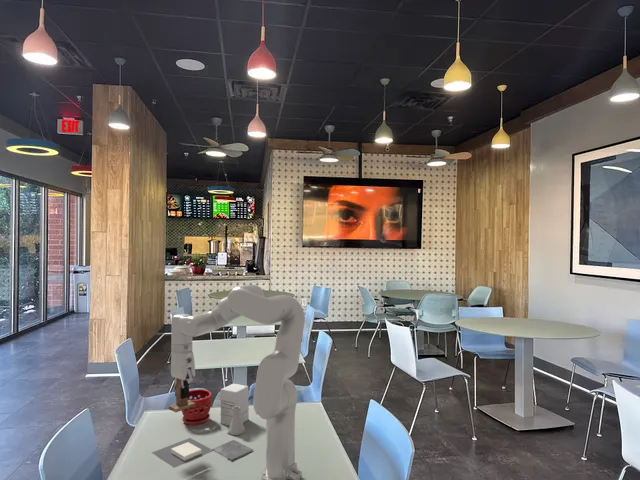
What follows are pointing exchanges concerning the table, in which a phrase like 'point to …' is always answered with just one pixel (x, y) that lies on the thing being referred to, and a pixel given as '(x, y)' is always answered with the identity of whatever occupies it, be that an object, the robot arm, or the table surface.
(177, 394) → the wooden post stand
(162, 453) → the mat
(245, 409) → the supplement box
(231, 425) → the flask
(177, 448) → the tile
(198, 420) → the plant pot
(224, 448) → the plate
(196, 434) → the table surface
